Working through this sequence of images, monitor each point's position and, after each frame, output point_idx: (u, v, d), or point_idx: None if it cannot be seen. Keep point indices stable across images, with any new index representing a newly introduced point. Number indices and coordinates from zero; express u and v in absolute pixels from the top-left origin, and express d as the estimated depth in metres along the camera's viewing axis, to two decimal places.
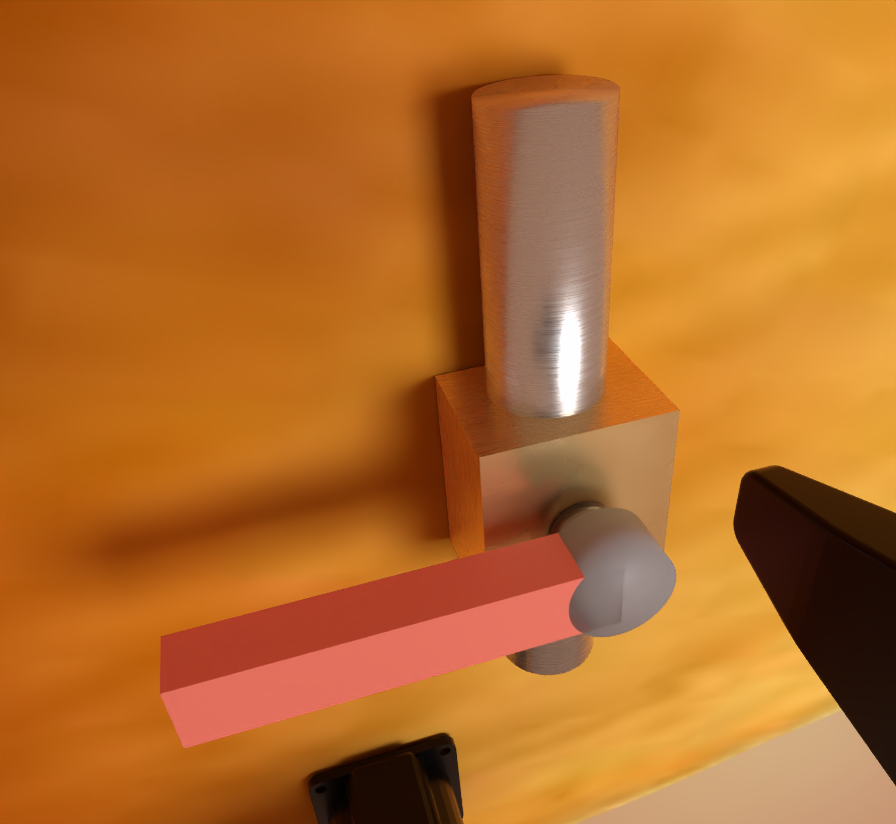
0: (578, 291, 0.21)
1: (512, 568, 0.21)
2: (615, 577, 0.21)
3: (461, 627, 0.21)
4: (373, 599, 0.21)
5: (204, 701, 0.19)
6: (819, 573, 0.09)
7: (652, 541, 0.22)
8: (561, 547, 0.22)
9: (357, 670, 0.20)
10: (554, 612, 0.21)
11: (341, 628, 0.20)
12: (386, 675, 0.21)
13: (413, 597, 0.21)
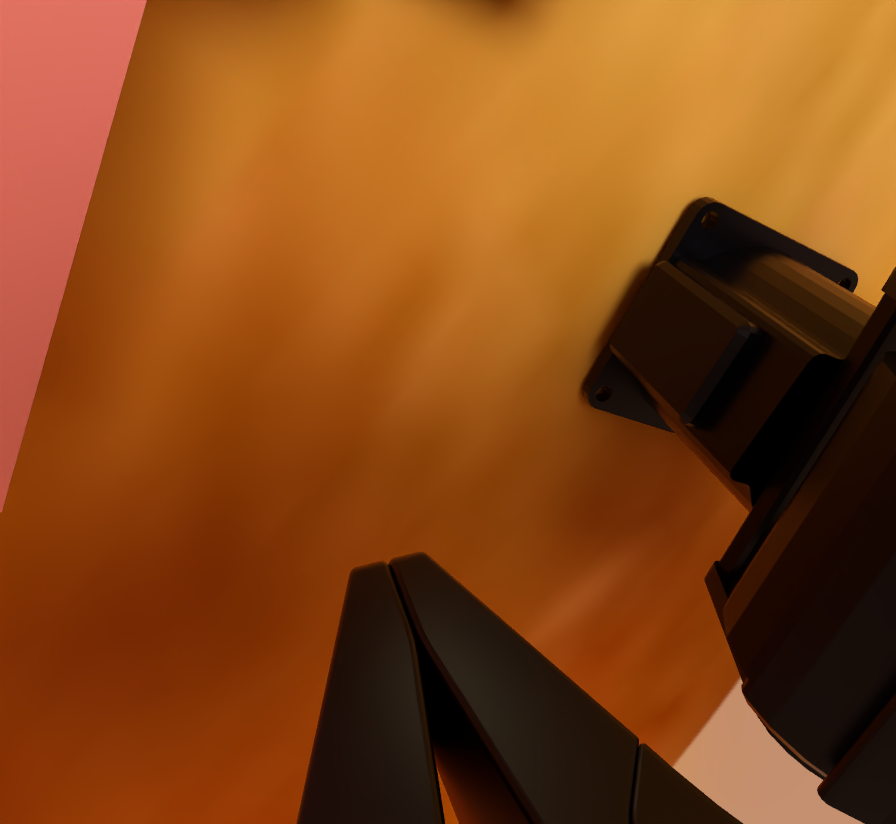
0: None
1: None
2: None
3: None
4: None
5: None
6: (425, 684, 0.08)
7: None
8: None
9: None
10: None
11: None
12: (42, 166, 0.10)
13: None
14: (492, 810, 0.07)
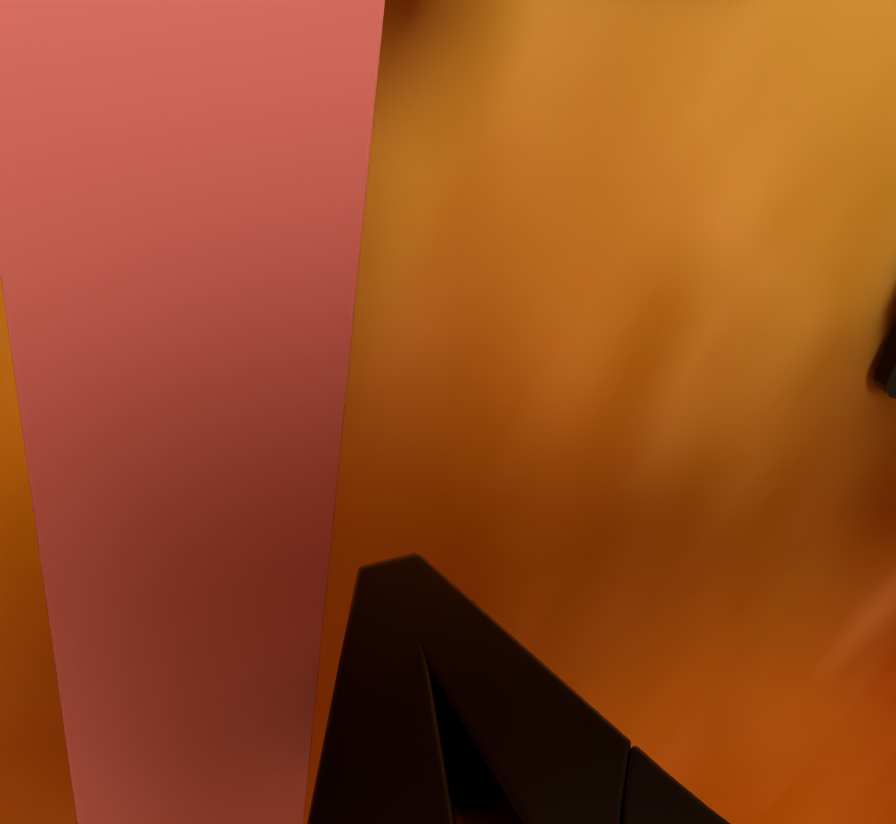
0: None
1: None
2: None
3: (101, 214, 0.05)
4: None
5: None
6: None
7: None
8: None
9: (200, 558, 0.06)
10: None
11: None
12: (263, 486, 0.06)
13: None
14: (484, 812, 0.06)
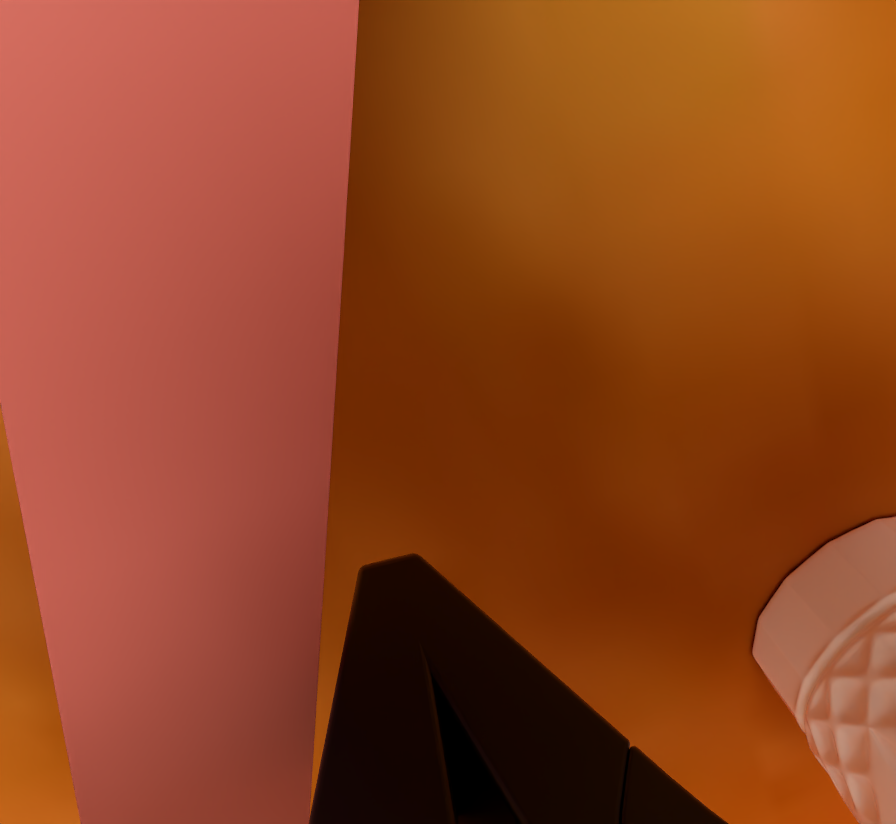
0: None
1: None
2: None
3: (73, 180, 0.05)
4: None
5: None
6: None
7: None
8: None
9: (192, 541, 0.06)
10: None
11: None
12: (253, 464, 0.06)
13: None
14: (483, 813, 0.06)
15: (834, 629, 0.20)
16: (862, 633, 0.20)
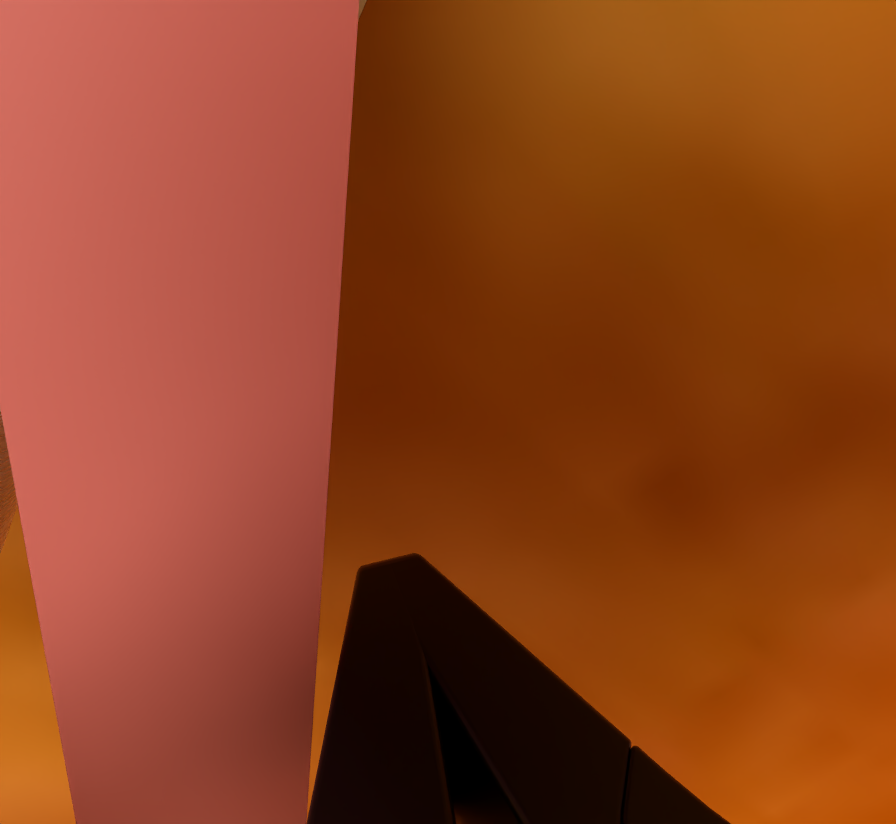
0: None
1: None
2: None
3: (71, 169, 0.05)
4: None
5: None
6: None
7: None
8: None
9: (189, 535, 0.06)
10: None
11: None
12: (252, 458, 0.06)
13: None
14: (484, 812, 0.06)
15: None
16: None
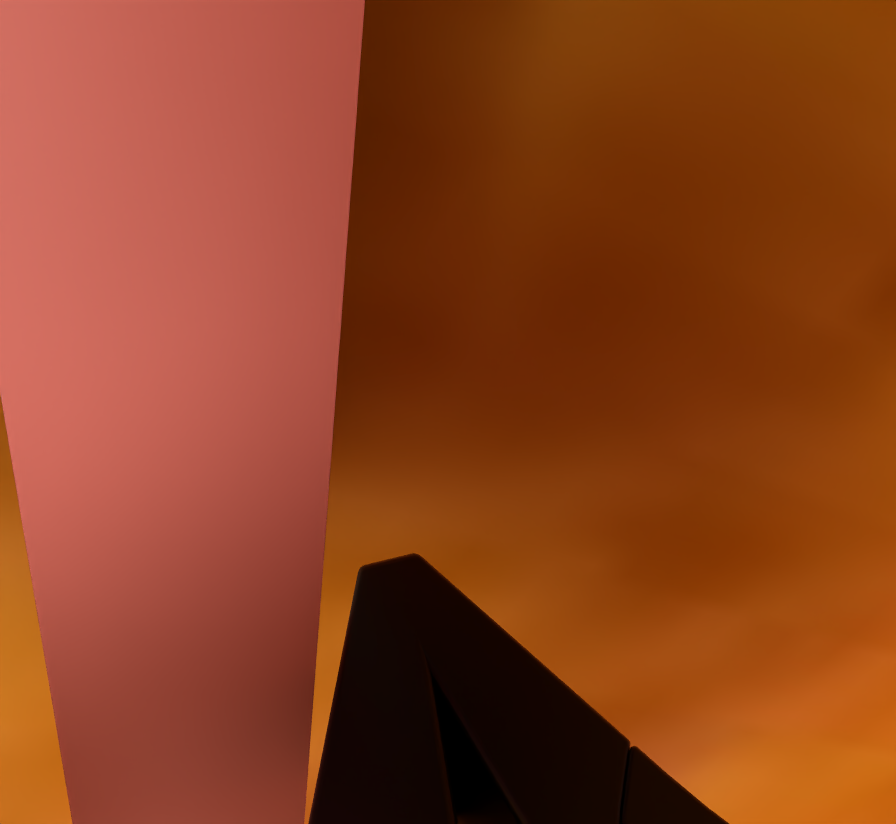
0: None
1: None
2: None
3: (76, 158, 0.05)
4: None
5: None
6: None
7: None
8: None
9: (190, 532, 0.06)
10: None
11: None
12: (253, 453, 0.06)
13: None
14: (483, 812, 0.06)
15: None
16: None
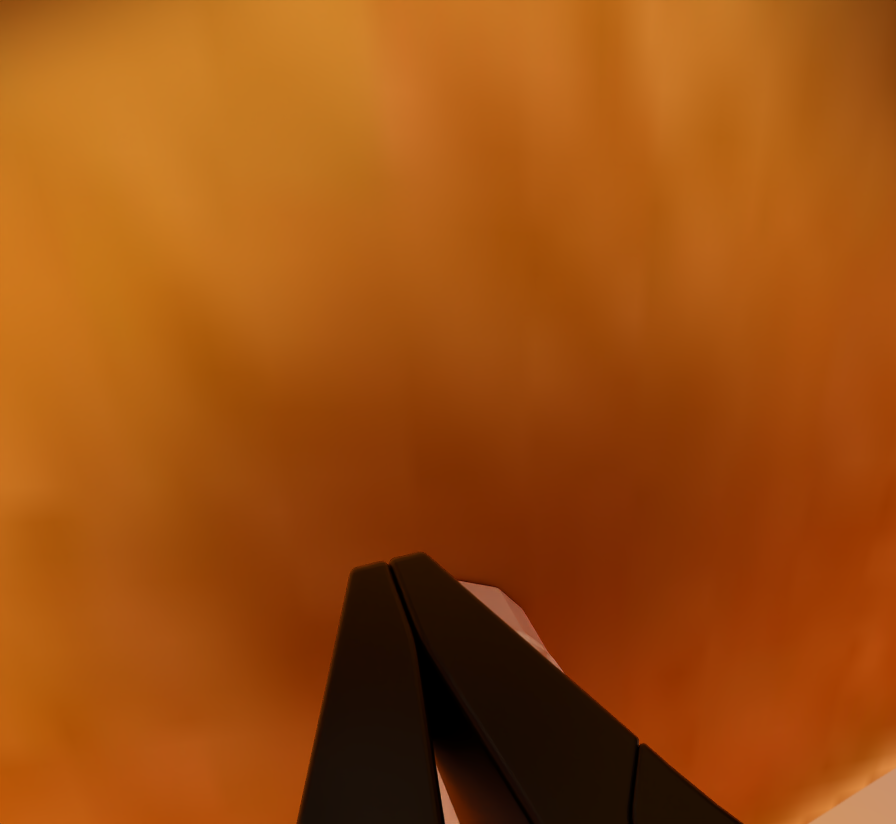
0: None
1: None
2: None
3: None
4: None
5: None
6: (425, 684, 0.08)
7: None
8: None
9: None
10: None
11: None
12: None
13: None
14: (492, 810, 0.07)
15: None
16: None
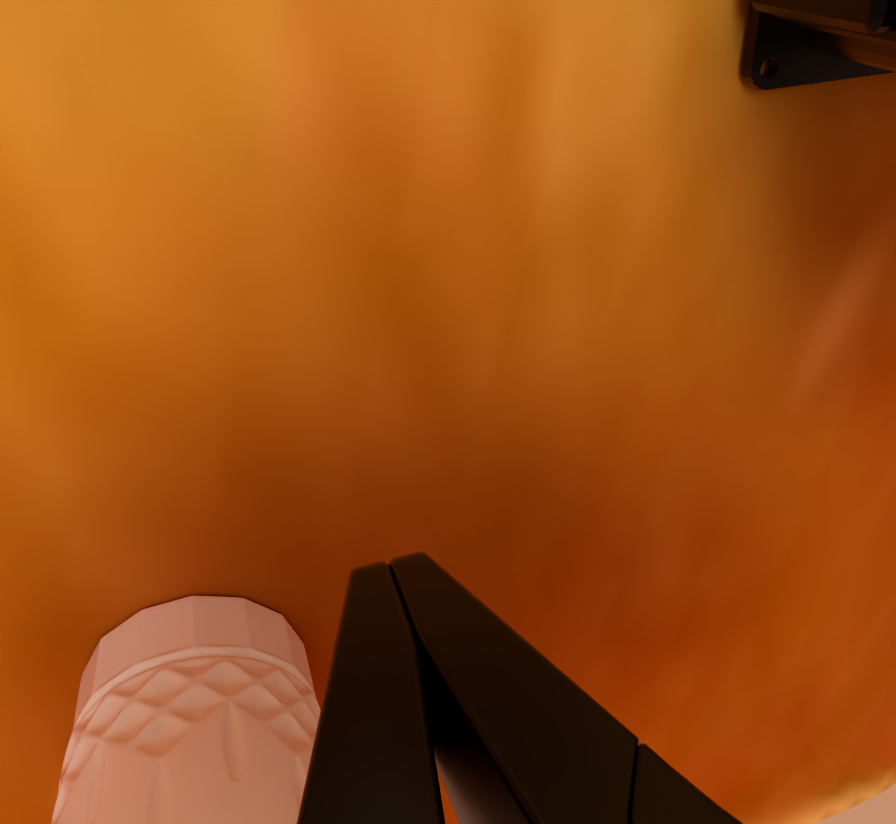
0: None
1: None
2: None
3: None
4: None
5: None
6: (425, 684, 0.08)
7: None
8: None
9: None
10: None
11: None
12: None
13: None
14: (492, 810, 0.07)
15: (141, 658, 0.22)
16: (156, 667, 0.21)
